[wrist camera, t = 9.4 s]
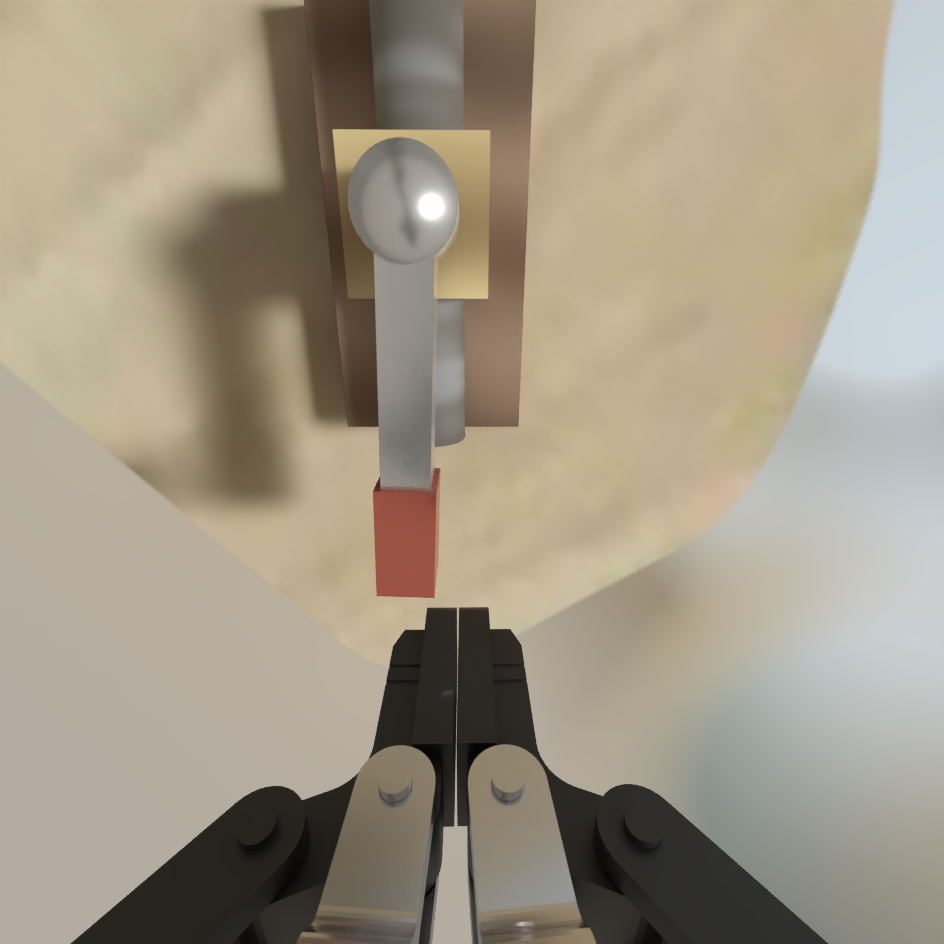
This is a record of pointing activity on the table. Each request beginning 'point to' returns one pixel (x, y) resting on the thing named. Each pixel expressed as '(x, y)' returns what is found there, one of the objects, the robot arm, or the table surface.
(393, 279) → the valve lever
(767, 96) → the table surface
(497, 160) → the valve board
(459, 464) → the table surface
